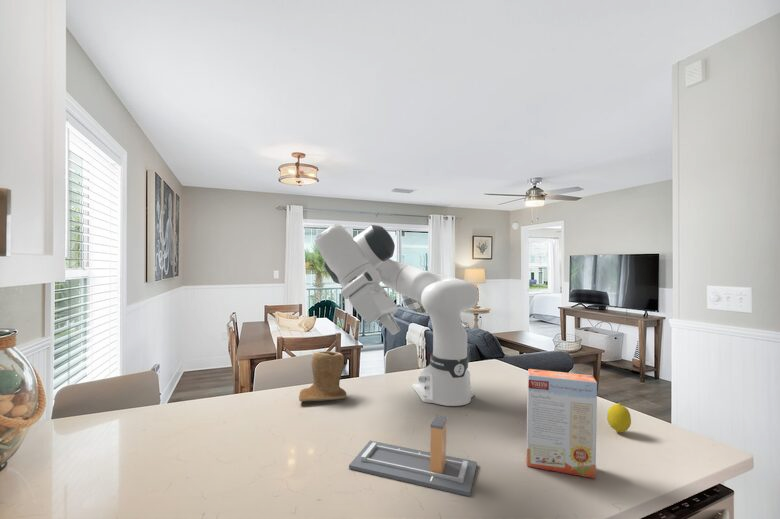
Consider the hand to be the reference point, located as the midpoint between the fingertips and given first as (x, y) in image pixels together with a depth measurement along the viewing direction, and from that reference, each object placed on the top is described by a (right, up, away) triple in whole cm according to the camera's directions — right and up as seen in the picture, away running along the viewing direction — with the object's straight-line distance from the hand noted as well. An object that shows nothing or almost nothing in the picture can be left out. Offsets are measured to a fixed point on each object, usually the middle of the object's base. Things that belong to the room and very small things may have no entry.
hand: (396, 333), depth 87 cm
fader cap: (+9, -29, -4) cm, 31 cm away
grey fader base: (+4, -29, -3) cm, 29 cm away
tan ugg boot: (-24, -28, +37) cm, 52 cm away
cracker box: (+37, -30, -1) cm, 47 cm away
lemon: (+61, -31, +17) cm, 70 cm away
